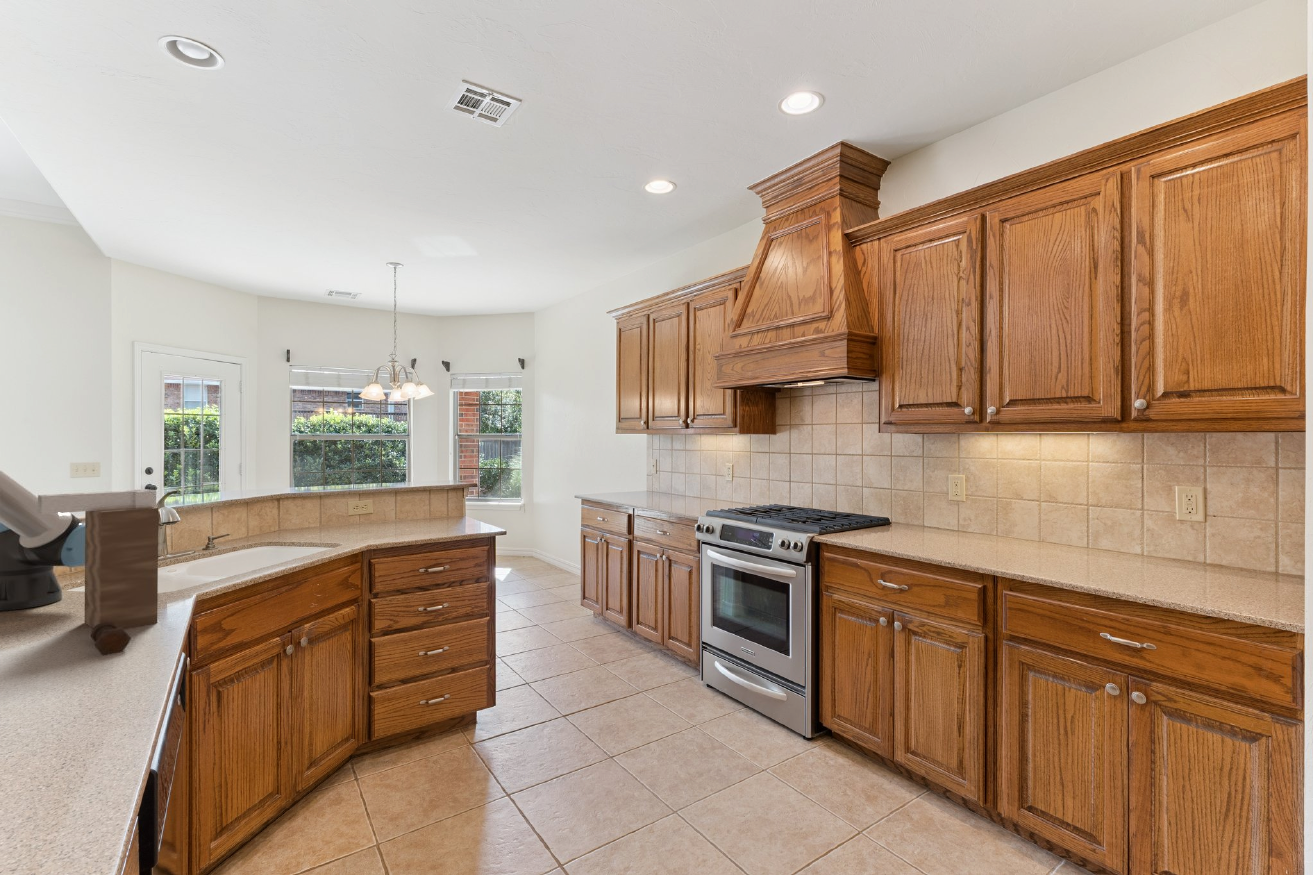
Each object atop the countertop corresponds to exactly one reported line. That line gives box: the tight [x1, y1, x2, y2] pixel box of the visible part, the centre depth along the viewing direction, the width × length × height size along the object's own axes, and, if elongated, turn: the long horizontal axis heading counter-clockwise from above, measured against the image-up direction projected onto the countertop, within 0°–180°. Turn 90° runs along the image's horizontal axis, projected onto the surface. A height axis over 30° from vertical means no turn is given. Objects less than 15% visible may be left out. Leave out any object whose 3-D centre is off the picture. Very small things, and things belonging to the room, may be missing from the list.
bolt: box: [89, 622, 132, 656], centre depth 133 cm, size 6×5×15 cm
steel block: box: [37, 488, 157, 514], centre depth 145 cm, size 7×20×4 cm, turn 144°
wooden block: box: [83, 506, 159, 630], centre depth 149 cm, size 14×10×28 cm
